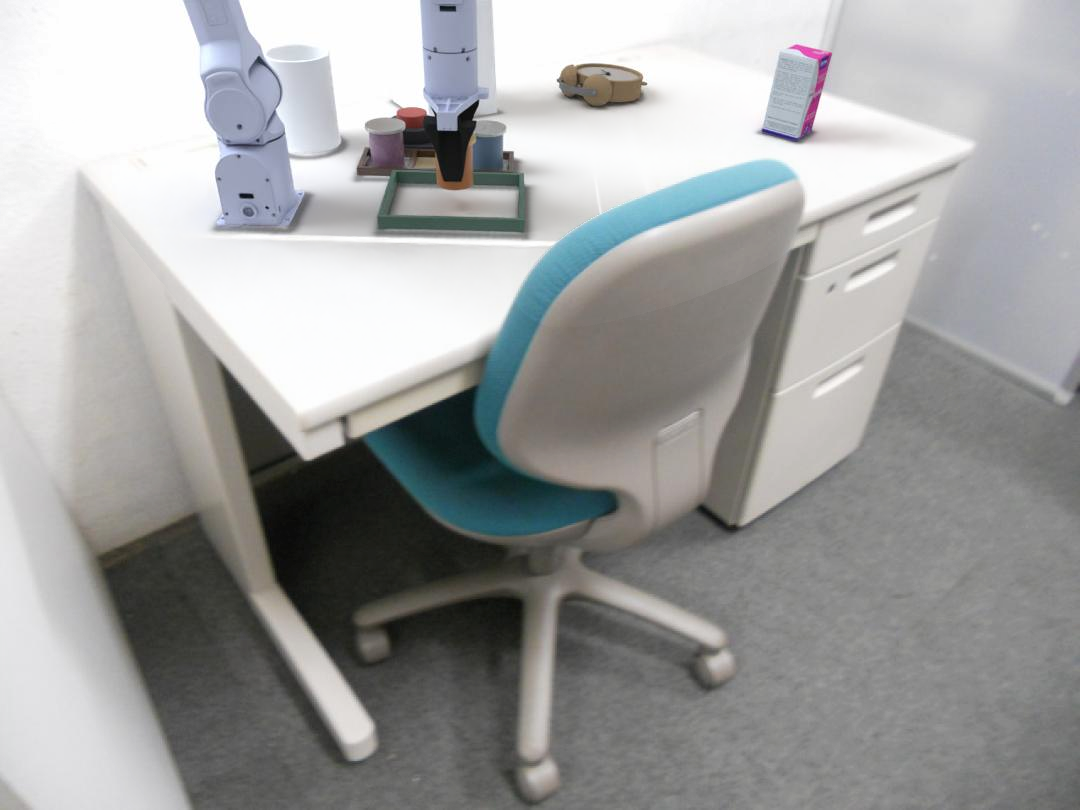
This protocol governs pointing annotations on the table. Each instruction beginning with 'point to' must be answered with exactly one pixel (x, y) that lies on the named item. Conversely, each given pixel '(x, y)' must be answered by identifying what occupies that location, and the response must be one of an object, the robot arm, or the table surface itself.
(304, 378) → the table surface
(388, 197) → the tray
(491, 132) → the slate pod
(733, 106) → the table surface
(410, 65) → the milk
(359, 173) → the pod stand
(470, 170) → the coffee pod
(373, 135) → the mauve pod
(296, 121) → the mug
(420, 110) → the button
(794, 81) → the supplement box
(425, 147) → the button block
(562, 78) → the alarm clock
